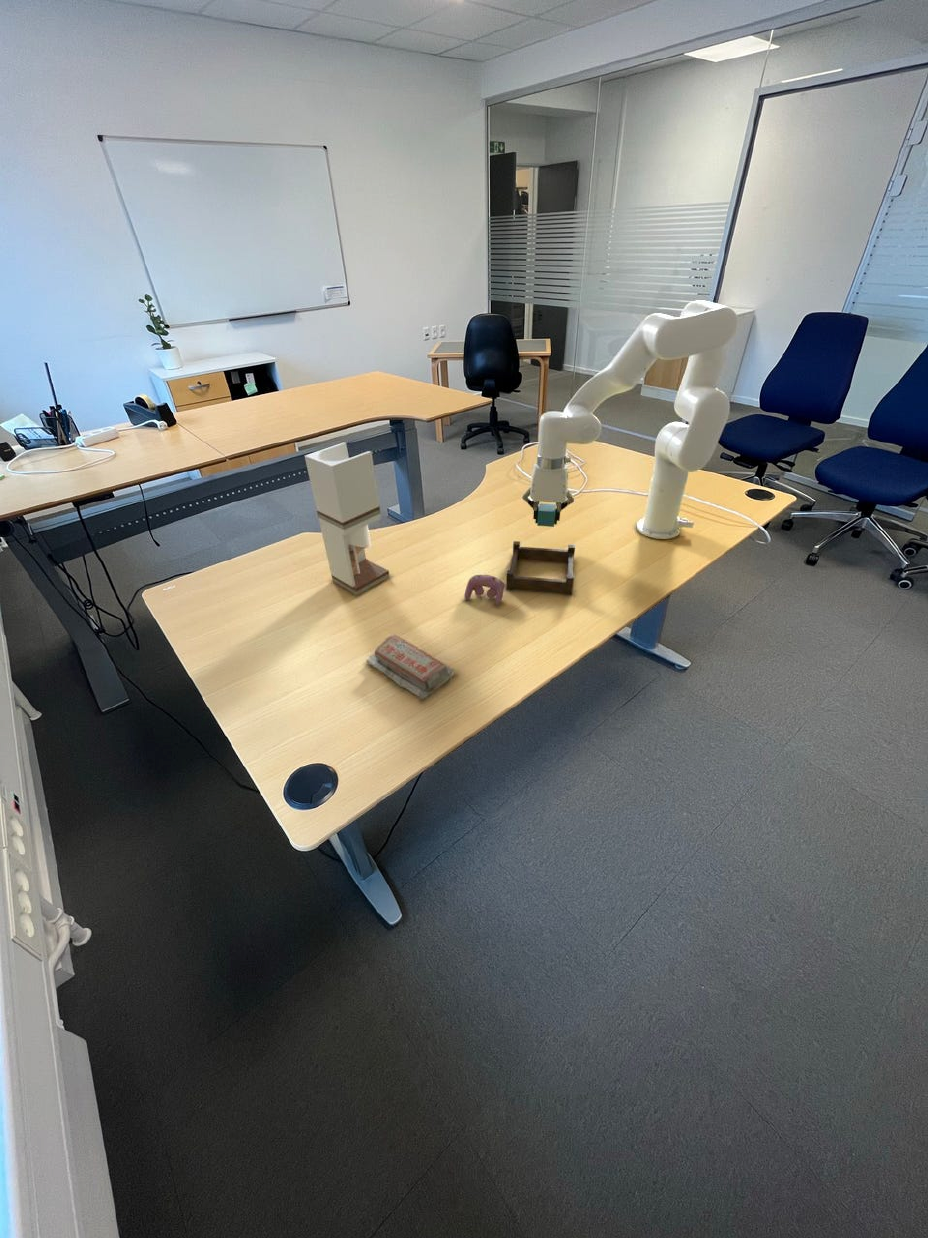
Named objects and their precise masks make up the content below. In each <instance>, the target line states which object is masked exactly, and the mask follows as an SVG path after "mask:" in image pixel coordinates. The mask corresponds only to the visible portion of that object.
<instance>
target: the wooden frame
mask: <svg viewBox="0 0 928 1238" xmlns="http://www.w3.org/2000/svg"><path fill="white" fill-rule="evenodd" d="M575 552H576V545H575V544H568V547H567V549H562V548H561V549H559V548H546V547H544V548H543V547H531V546H530V547H529V546H521V541H520V540H519V541H516V540H514V541H513V544H512V557H511V562H510V566H509V569H507V570H506V574H505V575H506V577H505V578H506V579H505V580H506V581H505V582H506V583H505V590H508V591H513V590H515V591H525V592H526V591H527V592H540V593H551V594H562V595H563V594H564V595H571V596H572V595H573V588H574V580H575V574H573V569H574V560H575ZM519 560H520V561H521V560H522V561H534V562H535V561H536V562H537V561H538V562H551V563H564V564H565V563H566V564H567V568H566V569H567V571H566V578H565V579H560V578H559V579H558V578H545V577H543V578H542V577H533V576H520V575H519V576H517V575H516V571H517V567H518V563H519V562H518V561H519Z"/></svg>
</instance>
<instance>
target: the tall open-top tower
mask: <svg viewBox="0 0 928 1238" xmlns="http://www.w3.org/2000/svg"><path fill="white" fill-rule="evenodd" d="M348 451H349V450H348V446H347V442H345V441H344V442H340V443H338V444H335V445H332V446H329V447H326V448H322V449H320V450H317V451H314V452H312V453H309V454H305V455H304V460H305V464H306V468H307V473H308V478H309V482H310V486H311V491H312V496H313V500H314V504H315V509H316V512H317V517H318V522H319V526H320V531H321V535H322V536H321V537H322V540H323V544H324V549H325V553H326V558H327V561H328V566H329V571H330V575H331V580H332V582H333V583H335V584H337V585H338V586H340V587H341V588H343V589H345V590H347V591H349V592H350V593H352V594H353V595H355V596H358V595H360V594H363V593H364V592H365V591H367V590H369V589H371V588H372V587H375V586H376V585H378V584H380V583H382V582H384V581H385V580H387V579H388V578H390V570H388V569H386V568H385V567H383V566H380V565H379V564H377V563H375V562H373V561H371V560H369V559H367V556H366V555H367V554H366V550H365V549H367V548H372V543H371V536H370V530H369V525H371V524H372V523H375V522H377V521H379V520H381V519H382V515H381V514H382V513H381V506H380V500H379V493H378V486H377V479H376V473H375V472H376V471H375V465H374V458H373V452H372V451H371V450H368V451H365V452H361V453H360V454H357V455H354V456H351V457H349V452H348Z"/></svg>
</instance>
